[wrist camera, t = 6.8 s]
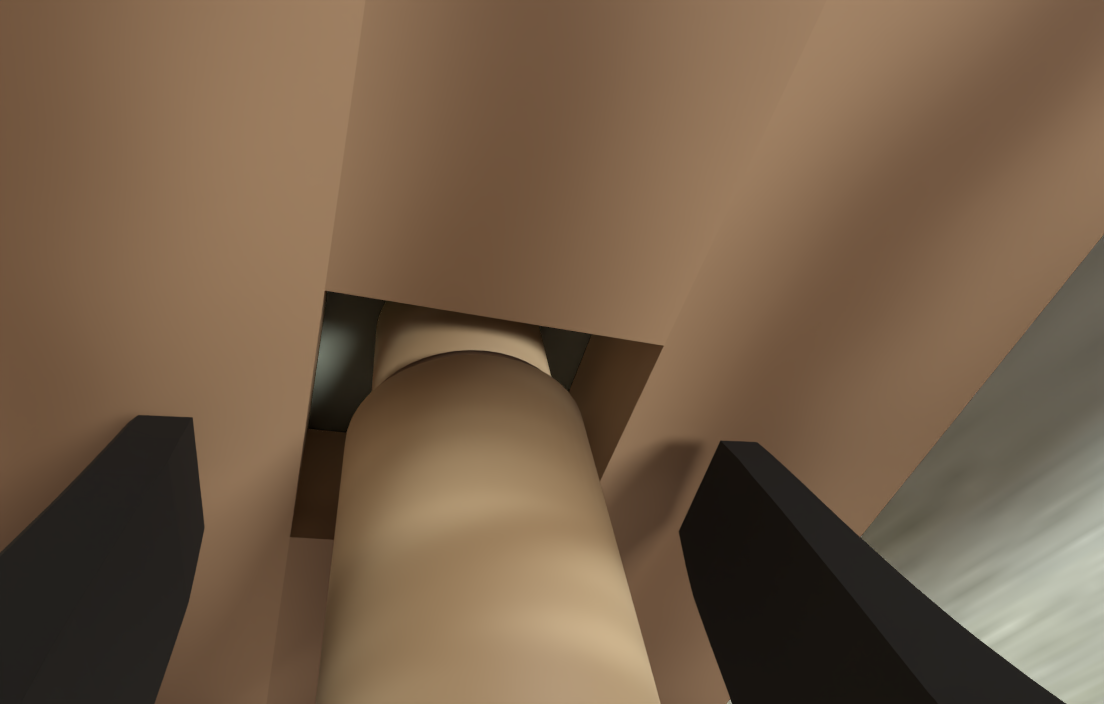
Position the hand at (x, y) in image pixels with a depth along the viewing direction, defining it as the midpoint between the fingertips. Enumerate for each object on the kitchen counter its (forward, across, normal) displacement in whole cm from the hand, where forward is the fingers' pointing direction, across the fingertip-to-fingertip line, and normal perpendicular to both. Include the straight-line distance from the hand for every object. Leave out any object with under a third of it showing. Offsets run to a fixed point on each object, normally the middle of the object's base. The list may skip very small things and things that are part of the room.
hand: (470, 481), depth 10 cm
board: (+3, 0, 0) cm, 3 cm away
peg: (+3, 0, 0) cm, 3 cm away
